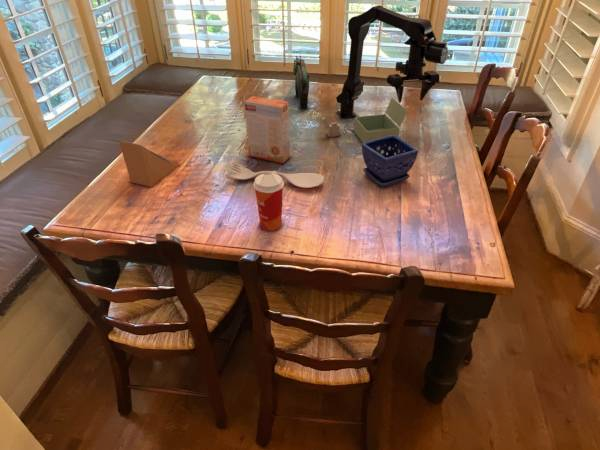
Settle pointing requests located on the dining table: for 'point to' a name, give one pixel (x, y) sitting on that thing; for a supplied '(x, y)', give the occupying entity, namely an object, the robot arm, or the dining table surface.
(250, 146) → the cracker box
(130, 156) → the sandwich container
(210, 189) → the dining table surface
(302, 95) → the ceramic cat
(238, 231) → the dining table surface
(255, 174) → the spoon
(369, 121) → the carton
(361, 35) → the robot arm
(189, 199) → the dining table surface
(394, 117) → the flap
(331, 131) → the lighter
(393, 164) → the flower pot
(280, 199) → the coffee cup
